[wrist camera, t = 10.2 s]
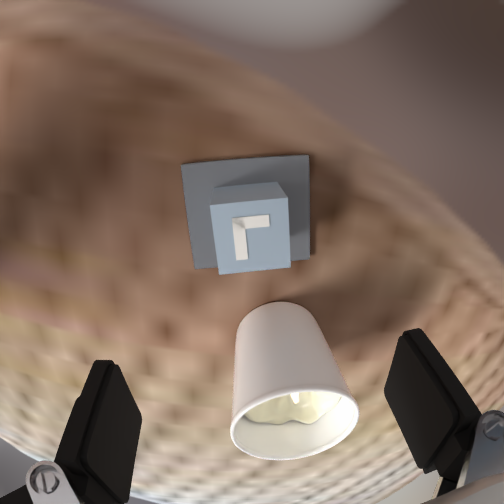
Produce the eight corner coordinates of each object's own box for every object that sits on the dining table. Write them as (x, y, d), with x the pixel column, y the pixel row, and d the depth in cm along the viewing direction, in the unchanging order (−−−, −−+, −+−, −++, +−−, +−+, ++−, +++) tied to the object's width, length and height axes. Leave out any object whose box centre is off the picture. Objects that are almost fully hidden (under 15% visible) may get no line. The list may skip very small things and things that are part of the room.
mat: (195, 265, 28) (194, 269, 28) (181, 164, 24) (180, 165, 24) (308, 256, 29) (309, 259, 28) (307, 154, 25) (308, 155, 24)
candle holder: (324, 359, 34) (353, 447, 23) (237, 373, 34) (241, 466, 23) (323, 285, 30) (366, 376, 19) (220, 301, 30) (217, 401, 19)
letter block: (213, 187, 25) (209, 205, 20) (277, 181, 25) (288, 198, 20) (220, 247, 27) (219, 277, 22) (280, 241, 27) (291, 269, 23)
